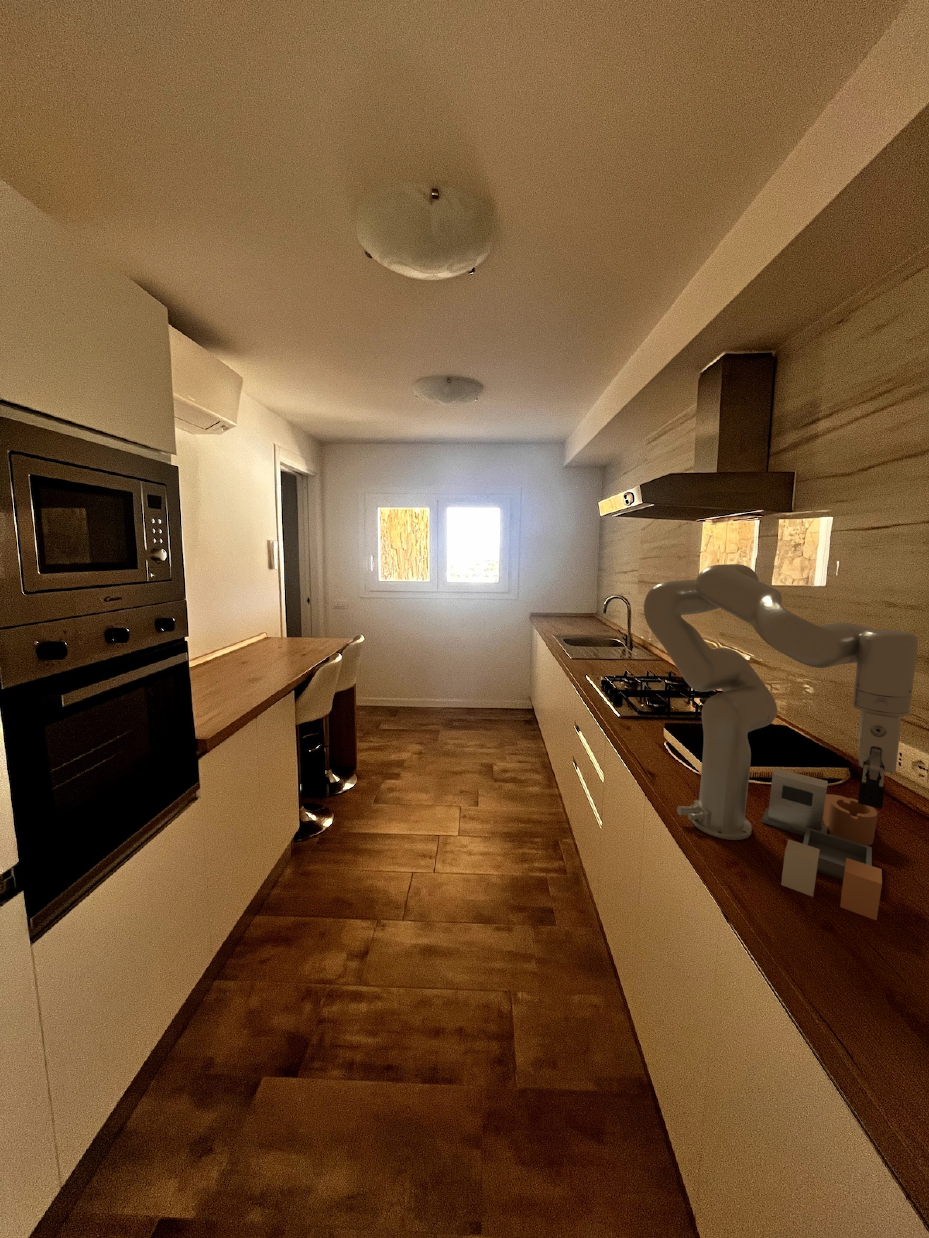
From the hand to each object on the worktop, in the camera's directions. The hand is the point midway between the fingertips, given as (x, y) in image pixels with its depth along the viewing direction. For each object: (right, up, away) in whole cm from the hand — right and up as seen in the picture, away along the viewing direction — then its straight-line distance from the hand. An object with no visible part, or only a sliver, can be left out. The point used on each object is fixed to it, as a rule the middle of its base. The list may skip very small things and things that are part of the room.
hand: (870, 794), depth 87 cm
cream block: (-8, -20, +7) cm, 22 cm away
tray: (+4, -19, +13) cm, 23 cm away
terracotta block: (-1, -21, +1) cm, 21 cm away
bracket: (+16, -17, +27) cm, 36 cm away
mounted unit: (+4, -17, +26) cm, 31 cm away
